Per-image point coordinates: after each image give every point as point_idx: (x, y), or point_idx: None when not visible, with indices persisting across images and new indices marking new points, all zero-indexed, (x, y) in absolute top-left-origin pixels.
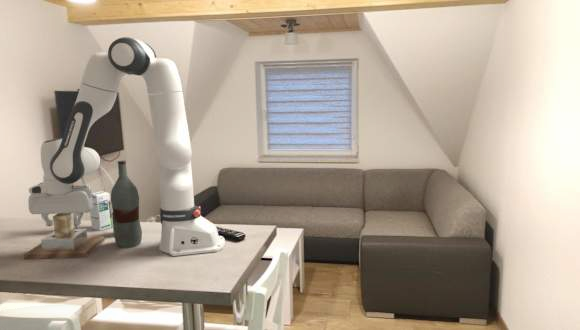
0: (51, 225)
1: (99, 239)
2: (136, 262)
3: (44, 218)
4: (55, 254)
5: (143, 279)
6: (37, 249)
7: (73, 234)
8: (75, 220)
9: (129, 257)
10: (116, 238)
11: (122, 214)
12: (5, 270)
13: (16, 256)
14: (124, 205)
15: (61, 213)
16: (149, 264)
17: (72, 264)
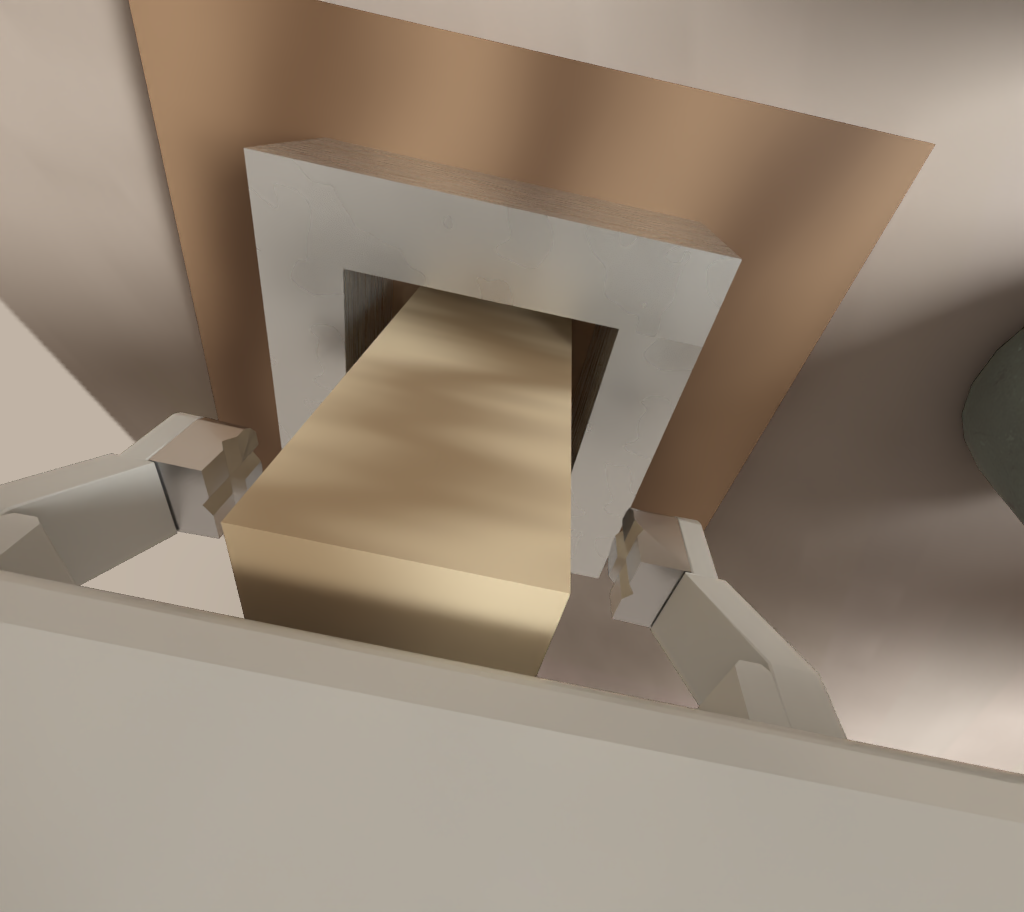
0: (258, 468)
1: (841, 277)
2: (954, 686)
3: (88, 570)
4: None
5: None
6: (269, 396)
7: (578, 466)
8: (635, 613)
9: (950, 627)
10: (1013, 510)
11: None
12: None
13: (149, 384)
14: None
15: (320, 590)
16: (1005, 719)
17: (603, 612)
